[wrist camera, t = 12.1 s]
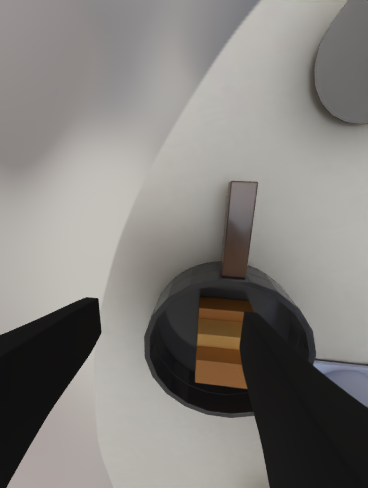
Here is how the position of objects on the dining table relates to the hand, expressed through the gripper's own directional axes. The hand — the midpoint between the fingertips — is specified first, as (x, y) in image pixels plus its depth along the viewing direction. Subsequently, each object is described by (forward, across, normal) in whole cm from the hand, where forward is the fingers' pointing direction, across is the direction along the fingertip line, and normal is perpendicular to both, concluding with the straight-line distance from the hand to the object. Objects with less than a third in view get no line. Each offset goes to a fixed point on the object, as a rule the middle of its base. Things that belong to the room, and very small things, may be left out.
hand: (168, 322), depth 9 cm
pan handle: (+7, -4, -4) cm, 9 cm away
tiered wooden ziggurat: (+9, -4, +7) cm, 12 cm away
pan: (+9, -4, +7) cm, 12 cm away
